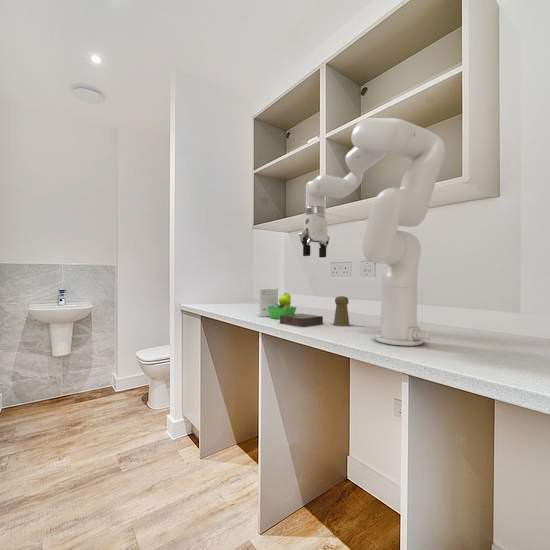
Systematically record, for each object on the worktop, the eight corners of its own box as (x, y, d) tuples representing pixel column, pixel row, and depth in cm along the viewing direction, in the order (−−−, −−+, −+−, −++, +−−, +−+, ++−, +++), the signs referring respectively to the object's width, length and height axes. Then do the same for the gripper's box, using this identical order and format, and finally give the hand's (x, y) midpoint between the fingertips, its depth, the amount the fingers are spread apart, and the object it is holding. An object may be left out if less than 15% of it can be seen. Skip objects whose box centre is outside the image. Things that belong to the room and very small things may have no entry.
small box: (275, 314, 151) (276, 288, 151) (277, 316, 145) (278, 288, 145) (259, 315, 150) (259, 287, 150) (260, 316, 143) (260, 288, 144)
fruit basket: (266, 318, 139) (266, 292, 139) (279, 316, 145) (279, 292, 146) (286, 320, 131) (286, 293, 131) (299, 318, 138) (299, 293, 138)
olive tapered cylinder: (345, 326, 117) (345, 297, 117) (330, 324, 120) (331, 296, 120) (352, 324, 121) (352, 296, 122) (337, 323, 125) (338, 295, 125)
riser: (322, 323, 123) (322, 316, 123) (301, 326, 115) (301, 318, 115) (300, 320, 132) (300, 313, 132) (279, 323, 124) (279, 315, 124)
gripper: (307, 208, 114) (307, 254, 114) (336, 215, 126) (335, 257, 125) (293, 211, 119) (292, 255, 119) (321, 217, 131) (321, 258, 131)
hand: (314, 256), depth 122 cm, fingers open, 9 cm apart
